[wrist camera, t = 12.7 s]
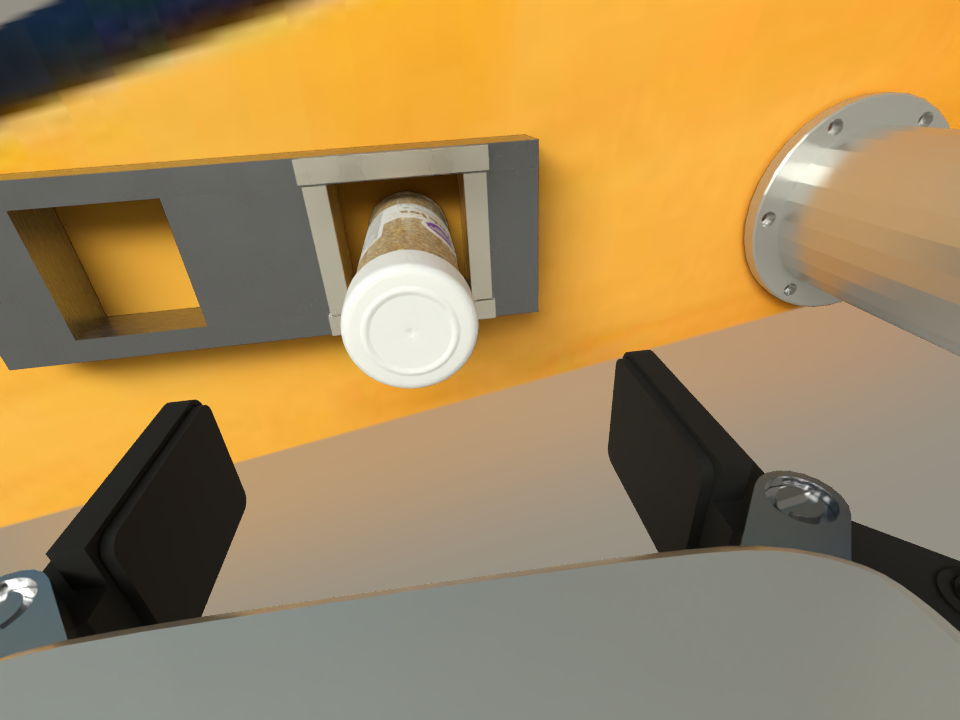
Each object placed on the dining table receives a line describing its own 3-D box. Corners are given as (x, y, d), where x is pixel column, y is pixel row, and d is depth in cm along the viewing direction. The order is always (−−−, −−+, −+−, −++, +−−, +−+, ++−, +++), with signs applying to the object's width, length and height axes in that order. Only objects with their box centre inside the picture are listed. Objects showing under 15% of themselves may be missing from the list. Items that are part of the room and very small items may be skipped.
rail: (524, 134, 26) (540, 139, 23) (526, 292, 30) (539, 313, 27) (-49, 177, 23) (-113, 190, 20) (46, 343, 27) (5, 373, 25)
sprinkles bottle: (462, 216, 27) (507, 308, 16) (424, 283, 29) (438, 412, 17) (389, 172, 26) (378, 238, 14) (352, 245, 27) (315, 360, 16)
